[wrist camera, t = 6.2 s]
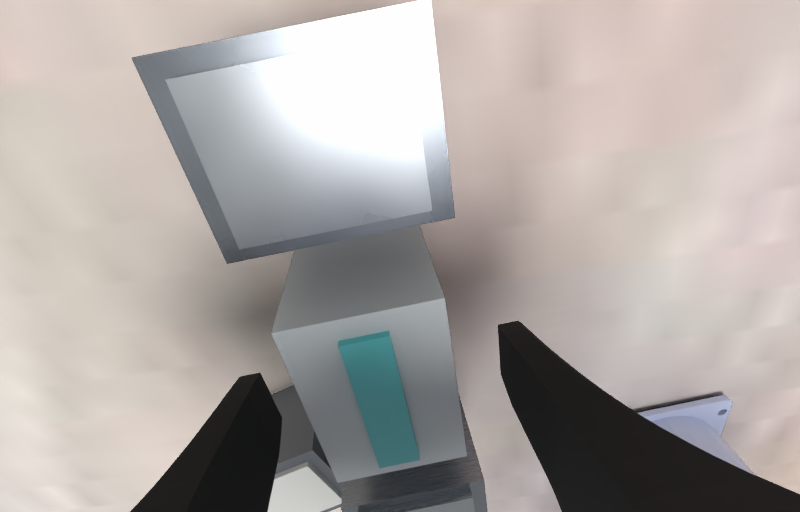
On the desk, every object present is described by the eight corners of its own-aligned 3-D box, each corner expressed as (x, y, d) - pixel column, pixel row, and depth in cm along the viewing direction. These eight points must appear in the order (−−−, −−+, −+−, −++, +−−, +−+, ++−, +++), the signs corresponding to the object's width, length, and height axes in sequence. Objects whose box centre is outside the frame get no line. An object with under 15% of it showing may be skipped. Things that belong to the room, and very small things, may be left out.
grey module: (434, 335, 16) (468, 462, 12) (342, 354, 16) (337, 489, 11) (412, 207, 13) (446, 303, 9) (300, 229, 13) (269, 339, 9)
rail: (455, 410, 20) (492, 545, 15) (363, 429, 20) (366, 571, 15) (396, 17, 12) (434, -4, 6) (232, 50, 12) (122, 58, 6)
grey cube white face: (359, 420, 20) (360, 503, 17) (293, 447, 21) (280, 534, 17) (320, 372, 18) (311, 454, 15) (248, 403, 19) (222, 490, 15)
